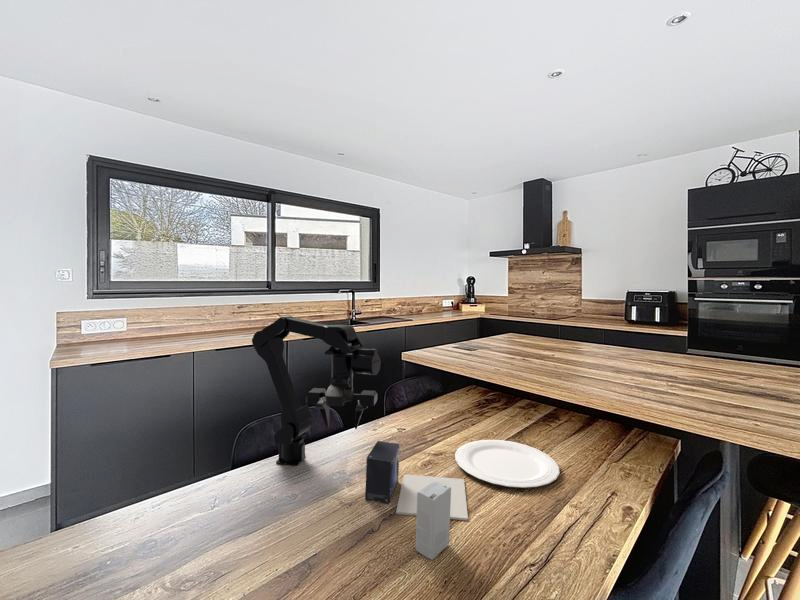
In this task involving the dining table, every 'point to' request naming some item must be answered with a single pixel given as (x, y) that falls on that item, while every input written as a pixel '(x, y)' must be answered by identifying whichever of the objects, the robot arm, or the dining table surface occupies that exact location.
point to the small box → (382, 472)
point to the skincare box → (433, 519)
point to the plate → (507, 463)
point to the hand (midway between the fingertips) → (341, 427)
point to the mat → (416, 483)
